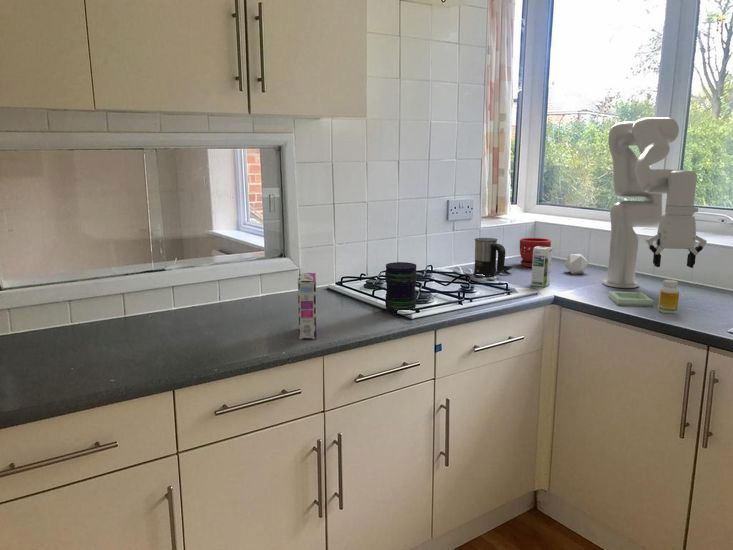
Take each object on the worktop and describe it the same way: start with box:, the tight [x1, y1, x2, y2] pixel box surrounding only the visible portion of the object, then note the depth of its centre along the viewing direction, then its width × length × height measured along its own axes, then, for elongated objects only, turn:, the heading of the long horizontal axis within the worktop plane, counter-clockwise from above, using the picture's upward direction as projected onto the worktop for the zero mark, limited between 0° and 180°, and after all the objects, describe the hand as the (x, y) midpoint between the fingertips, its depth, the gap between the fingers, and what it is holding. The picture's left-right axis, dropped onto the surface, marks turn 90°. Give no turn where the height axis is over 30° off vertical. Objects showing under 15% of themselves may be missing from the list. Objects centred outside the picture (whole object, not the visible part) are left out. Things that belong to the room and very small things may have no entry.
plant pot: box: [519, 237, 552, 268], centre depth 251 cm, size 13×13×12 cm
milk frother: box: [473, 237, 515, 277], centre depth 235 cm, size 14×16×15 cm
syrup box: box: [530, 246, 553, 288], centre depth 215 cm, size 6×6×14 cm
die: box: [564, 253, 589, 275], centre depth 237 cm, size 8×9×10 cm
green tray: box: [607, 291, 654, 307], centre depth 193 cm, size 11×11×2 cm
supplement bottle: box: [657, 279, 680, 314], centre depth 180 cm, size 5×5×10 cm
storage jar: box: [384, 261, 418, 316], centre depth 181 cm, size 10×10×15 cm
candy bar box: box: [297, 272, 318, 341], centre depth 159 cm, size 11×5×16 cm, turn 5°
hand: (673, 266), depth 178 cm, fingers open, 9 cm apart
